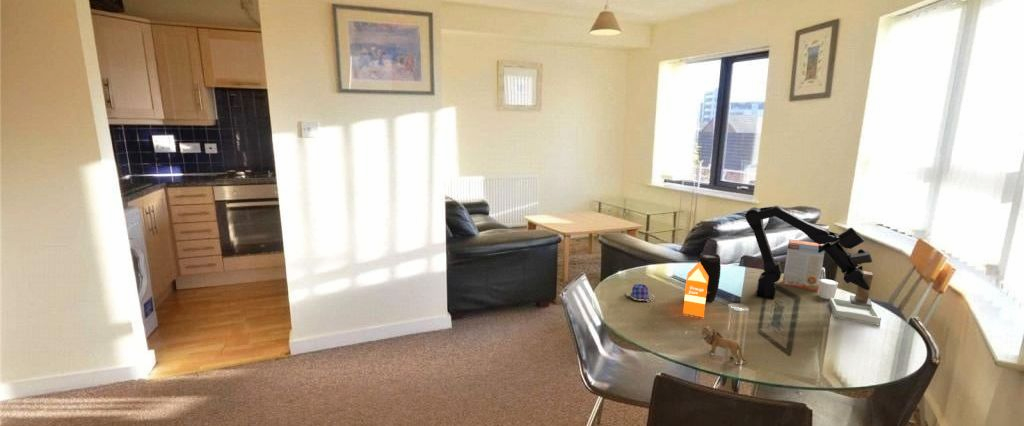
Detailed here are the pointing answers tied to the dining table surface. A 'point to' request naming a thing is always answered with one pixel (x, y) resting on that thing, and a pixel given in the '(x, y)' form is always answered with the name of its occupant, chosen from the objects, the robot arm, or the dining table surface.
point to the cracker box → (803, 265)
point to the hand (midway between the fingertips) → (868, 287)
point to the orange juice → (696, 291)
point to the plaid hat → (640, 292)
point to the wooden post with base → (863, 292)
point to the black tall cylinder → (711, 273)
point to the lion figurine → (721, 342)
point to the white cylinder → (827, 288)
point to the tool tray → (854, 311)
